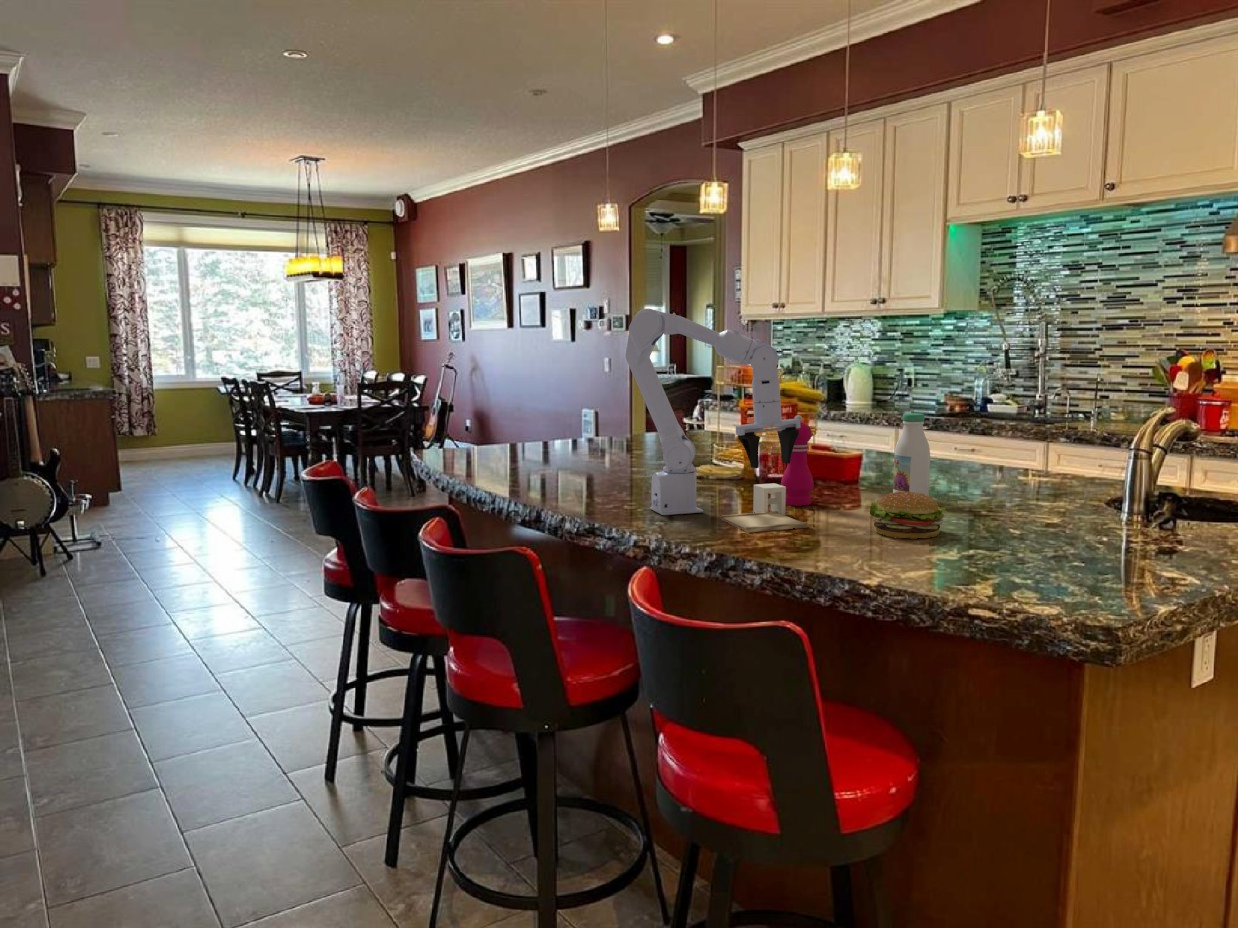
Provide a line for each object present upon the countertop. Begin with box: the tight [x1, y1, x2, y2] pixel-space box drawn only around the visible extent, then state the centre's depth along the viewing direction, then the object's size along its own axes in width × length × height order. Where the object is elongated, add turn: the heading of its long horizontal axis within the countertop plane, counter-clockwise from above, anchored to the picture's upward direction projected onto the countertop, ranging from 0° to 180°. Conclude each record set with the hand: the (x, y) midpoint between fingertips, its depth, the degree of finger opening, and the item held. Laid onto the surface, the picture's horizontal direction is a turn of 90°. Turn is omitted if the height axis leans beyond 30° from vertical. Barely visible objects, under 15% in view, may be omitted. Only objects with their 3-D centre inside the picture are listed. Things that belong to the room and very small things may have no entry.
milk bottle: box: [892, 412, 931, 496], centre depth 200 cm, size 8×8×20 cm
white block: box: [752, 482, 786, 516], centre depth 189 cm, size 5×5×6 cm
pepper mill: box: [780, 415, 814, 507], centre depth 199 cm, size 7×7×20 cm
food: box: [869, 491, 947, 540], centre depth 169 cm, size 14×14×8 cm
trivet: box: [719, 510, 808, 533], centre depth 179 cm, size 13×13×1 cm
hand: (770, 465), depth 188 cm, fingers open, 7 cm apart
